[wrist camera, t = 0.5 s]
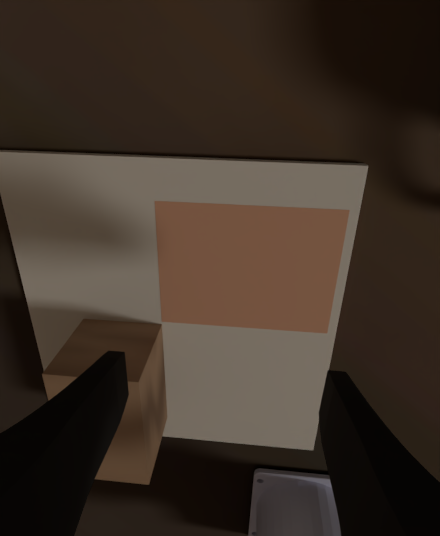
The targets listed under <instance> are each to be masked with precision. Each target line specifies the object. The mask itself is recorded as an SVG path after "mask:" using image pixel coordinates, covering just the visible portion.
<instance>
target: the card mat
mask: <svg viewBox="0 0 440 536" xmlns="http://www.w3.org/2000/svg"><path fill="white" fill-rule="evenodd" d="M367 171H368V165H367V164H364V163H337V162H311V161H284V160H258V159H231V158H204V157H178V156H151V155H125V154H98V153H72V152H45V151H19V150H0V195H1V199H2V203H3V207H4V211H5V215H6V219H7V223H8V227H9V231H10V235H11V239H12V243H13V247H14V251H15V256H16V260H17V264H18V268H19V272H20V276H21V280H22V284H23V288H24V292H25V296H26V300H27V304H28V308H29V313H30V317H31V321H32V325H33V329H34V333H35V337H36V341H37V345H38V349H39V353H40V357H41V361H42V365H43V369H44V371H45V369H46V368H47V367H48V365H49V364H50V363H51V361H52V360H53V359H54V357H55V356H56V355H57V353H58V352H59V351H60V349H61V348H62V347H63V345H64V344H65V343H66V341H67V340H68V339H69V337H70V336H71V335H72V333H73V332H74V331H75V329H76V328H77V327H78V325H79V324H80V323H81V321H82V320H83V319H95V320H109V321H123V322H137V323H151V324H162V333H163V350H164V367H165V384H166V401H167V421H166V424H165V428H164V432H163V435H162V436H166V437H176V438H187V439H198V440H208V441H219V442H230V443H240V444H251V445H261V446H272V447H283V448H293V449H304V450H313V448H314V443H315V438H316V433H317V428H318V422H319V409H320V404H321V399H322V395H323V390H324V385H325V380H326V376H327V371H328V370H329V366H330V361H331V356H332V351H333V345H334V340H335V335H336V330H337V325H338V320H339V315H340V309H341V304H342V299H343V294H344V289H345V284H346V279H347V273H348V268H349V263H350V258H351V253H352V248H353V243H354V238H355V232H356V227H357V222H358V217H359V212H360V207H361V202H362V196H363V191H364V186H365V181H366V176H367Z"/></svg>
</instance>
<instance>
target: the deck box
mask: <svg viewBox="0 0 440 536" xmlns="http://www.w3.org/2000/svg"><path fill="white" fill-rule="evenodd" d="M108 350H109V351H120V352H125V360H126V370H127V380H128V390H129V396H128V399H127V403H126V406H125V409H124V412H123V415H122V419H121V422H120V424H119V426H118V428H117V431H116V433H115V435H114V437H113V440H112V442H111V444H110V446H109V448H108V451H107V453H106V455H105V457H104V459H103V462H102V464H101V466H100V468H99V471H98V473H97V475H96V477H95V479H98V480H108V481H117V482H127V483H136V484H146V485H149V483H150V479H151V475H152V472H153V468H154V465H155V461H156V457H157V454H158V450H159V446H160V443H161V439H162V435H163V432H164V428H165V424H166V421H167V401H166V384H165V367H164V350H163V333H162V324H151V323H137V322H123V321H109V320H95V319H83V320H82V321H81V323H80V324H79V325H78V327H77V328H76V329H75V331H74V332H73V333H72V335H71V336H70V337H69V339H68V340H67V341H66V343H65V344H64V345H63V347H62V348H61V349H60V351H59V352H58V353H57V355H56V356H55V357H54V359H53V360H52V361H51V363H50V364H49V365H48V367H47V368H46V369H45V371H44V372H43V373H42V377H43V381H44V385H45V389H46V393H47V397H48V401H49V400H50V399H52V398H53V397H54V396H56V395H57V394H58V393H59V392H61V391H62V390H63V389H64V388H65V387H67V386H68V385H69V384H70V383H71V382H73V381H74V380H75V379H76V378H77V377H78V376H80V375H81V374H82V373H83V372H84V371H85V370H87V369H88V368H89V367H90V366H91V365H92V364H93V363H94V362H96V361H97V360H98V359H99V358H100V357H101V356H102V355H104V354H105V353H106V352H107V351H108Z"/></svg>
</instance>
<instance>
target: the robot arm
mask: <svg viewBox="0 0 440 536" xmlns="http://www.w3.org/2000/svg"><path fill="white" fill-rule="evenodd" d="M128 396H129V390H128V380H127V370H126V360H125V352H120V351H109V350H108V351H107V352H106V353H105V354H104V355H102V356H101V357H100V358H99V359H98V360H97V361H96V362H94V363H93V364H92V365H91V366H90V367H89V368H88V369H87V370H85V371H84V372H83V373H82V374H81V375H80V376H78V377H77V378H76V379H75V380H74V381H73V382H71V383H70V384H69V385H68V386H67V387H65V388H64V389H63V390H62V391H61V392H59V393H58V394H57V395H56V396H54V397H53V398H52V399H50V400H49V401H48V402H46V403H45V404H44V405H43V406H41V407H40V408H39V409H37V410H36V411H34V412H33V413H32V414H30V415H29V416H27V417H26V418H24V419H23V420H21V421H20V422H18V423H17V424H15V425H13V426H12V427H10V428H9V429H7V430H5V431H4V432H2V433H0V536H74V534H75V531H76V528H77V525H78V522H79V520H80V517H81V514H82V511H83V508H84V505H85V502H86V499H87V496H88V494H89V491H90V489H91V486H92V484H93V482H94V479H95V477H96V475H97V473H98V471H99V468H100V466H101V464H102V462H103V459H104V457H105V455H106V453H107V451H108V448H109V446H110V444H111V442H112V440H113V437H114V435H115V433H116V431H117V428H118V426H119V424H120V422H121V419H122V415H123V412H124V409H125V406H126V403H127V399H128ZM319 423H320V432H321V441H322V446H323V451H324V455H325V460H326V464H327V469H328V473H329V475H323V474H313V473H303V472H293V471H283V470H273V469H263V468H258V469H256V470H255V471H254V479H253V489H252V500H251V510H250V521H249V531H248V536H440V482H439V481H438V480H436V479H435V478H434V477H433V476H432V475H431V474H430V473H429V472H428V471H427V470H426V469H425V468H424V467H423V466H422V465H421V464H420V463H419V462H418V461H417V460H416V459H415V458H414V457H413V456H412V455H411V454H410V453H409V452H408V450H407V449H406V448H405V447H404V446H403V445H402V444H401V443H400V442H399V440H398V439H397V438H396V437H395V436H394V435H393V433H392V432H391V431H390V430H389V429H388V427H387V426H386V425H385V424H384V423H383V421H382V420H381V419H380V417H379V416H378V415H377V414H376V412H375V411H374V410H373V409H372V407H371V406H370V405H369V403H368V402H367V401H366V399H365V398H364V396H363V395H362V394H361V392H360V391H359V390H358V388H357V387H356V385H355V384H354V383H353V381H352V380H351V378H350V377H349V375H348V374H347V373H346V372H342V371H331V370H328V371H327V376H326V380H325V385H324V390H323V395H322V399H321V404H320V409H319Z"/></svg>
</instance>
